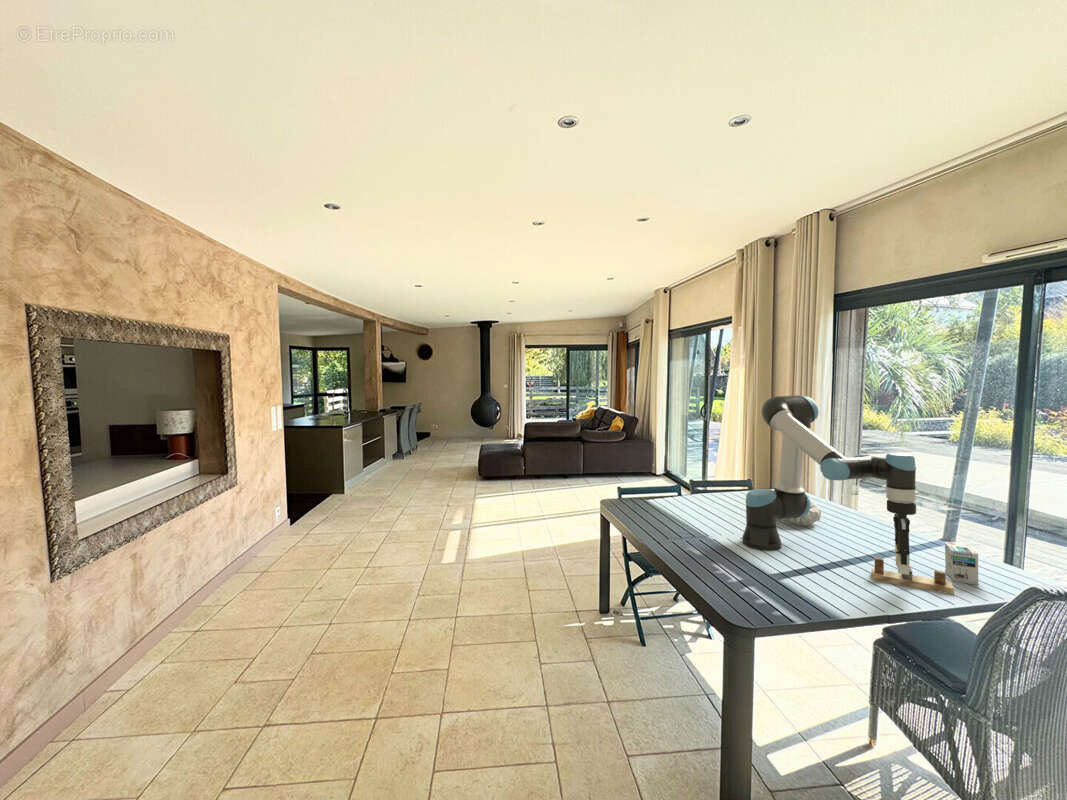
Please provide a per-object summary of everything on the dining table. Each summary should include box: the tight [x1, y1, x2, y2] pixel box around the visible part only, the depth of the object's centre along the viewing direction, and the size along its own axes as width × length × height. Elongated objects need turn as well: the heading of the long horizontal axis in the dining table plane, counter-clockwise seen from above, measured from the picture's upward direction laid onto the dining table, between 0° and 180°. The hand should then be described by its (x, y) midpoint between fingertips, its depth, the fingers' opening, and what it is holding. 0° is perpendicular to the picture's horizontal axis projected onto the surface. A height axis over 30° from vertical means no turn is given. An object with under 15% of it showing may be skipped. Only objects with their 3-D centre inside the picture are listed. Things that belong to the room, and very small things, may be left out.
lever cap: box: [894, 542, 911, 570], centre depth 146 cm, size 3×7×7 cm, turn 145°
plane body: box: [871, 556, 955, 595], centre depth 152 cm, size 21×6×7 cm, turn 55°
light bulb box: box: [944, 541, 979, 586], centre depth 155 cm, size 11×7×11 cm, turn 148°
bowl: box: [783, 502, 822, 526], centre depth 220 cm, size 21×20×10 cm
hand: (902, 569), depth 146 cm, fingers closed on lever cap, 7 cm apart
